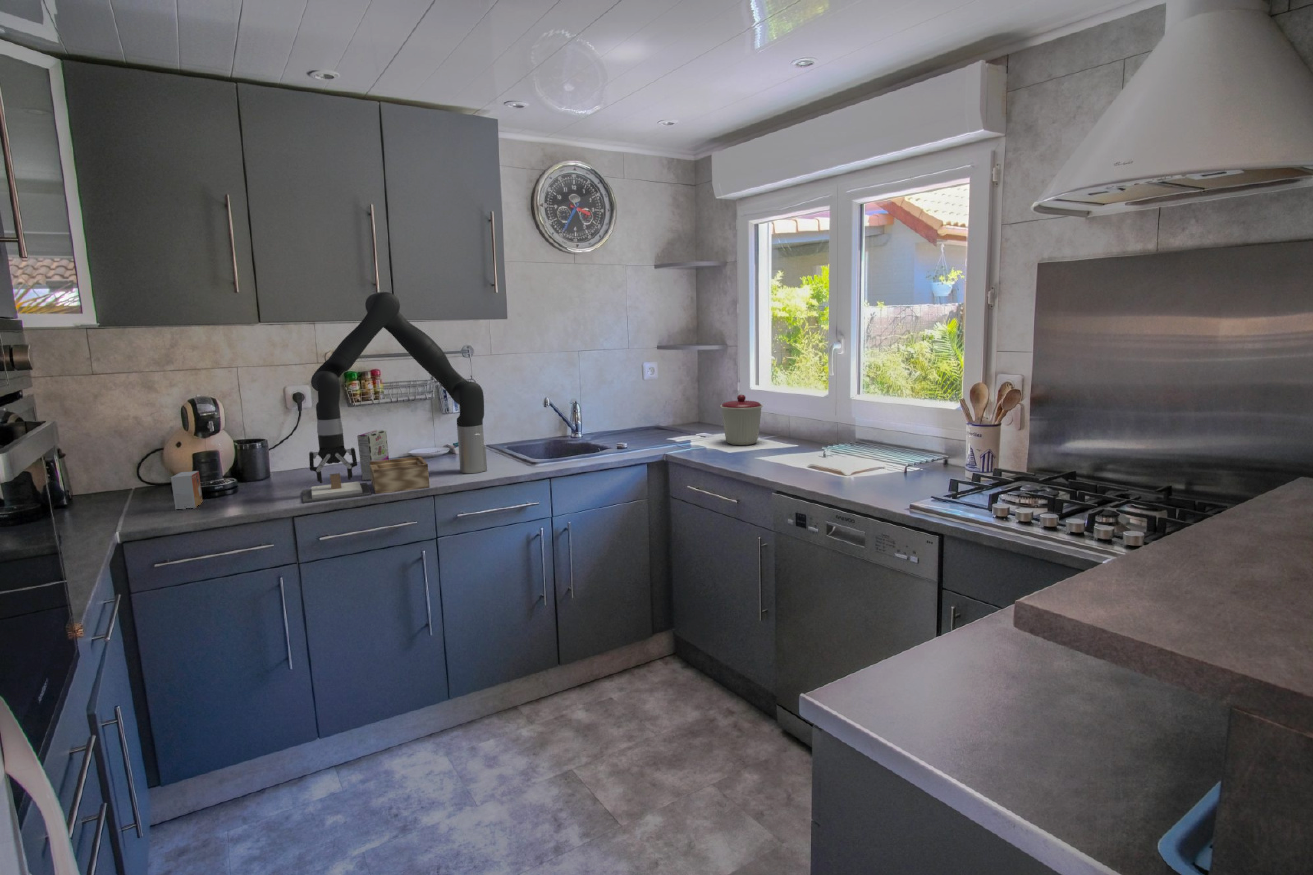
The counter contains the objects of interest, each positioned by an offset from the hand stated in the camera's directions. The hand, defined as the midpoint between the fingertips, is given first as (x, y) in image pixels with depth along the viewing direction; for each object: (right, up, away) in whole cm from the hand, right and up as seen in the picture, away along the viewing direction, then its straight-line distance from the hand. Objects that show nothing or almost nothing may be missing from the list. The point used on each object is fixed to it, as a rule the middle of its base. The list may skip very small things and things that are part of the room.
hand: (335, 481), depth 240 cm
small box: (-40, -7, -12) cm, 43 cm away
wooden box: (+18, -2, +9) cm, 20 cm away
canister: (+142, +12, +73) cm, 160 cm away
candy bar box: (+4, 0, +24) cm, 25 cm away
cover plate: (0, -3, +1) cm, 4 cm away
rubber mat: (0, -4, +1) cm, 4 cm away
